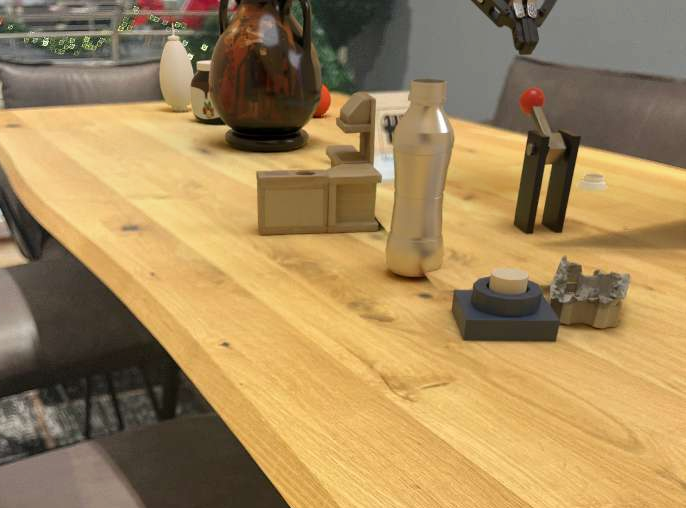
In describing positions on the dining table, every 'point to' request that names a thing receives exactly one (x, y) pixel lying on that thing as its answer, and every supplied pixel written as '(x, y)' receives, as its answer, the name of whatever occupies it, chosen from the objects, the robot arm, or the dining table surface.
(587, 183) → the lidless jar
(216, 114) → the spread jar
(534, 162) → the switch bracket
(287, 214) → the toy kitchen set
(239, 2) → the amphora vase
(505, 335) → the control block
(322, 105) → the clementine
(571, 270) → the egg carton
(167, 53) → the sauce bottle
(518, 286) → the button
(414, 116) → the plastic bottle
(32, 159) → the dining table surface
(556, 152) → the lever
